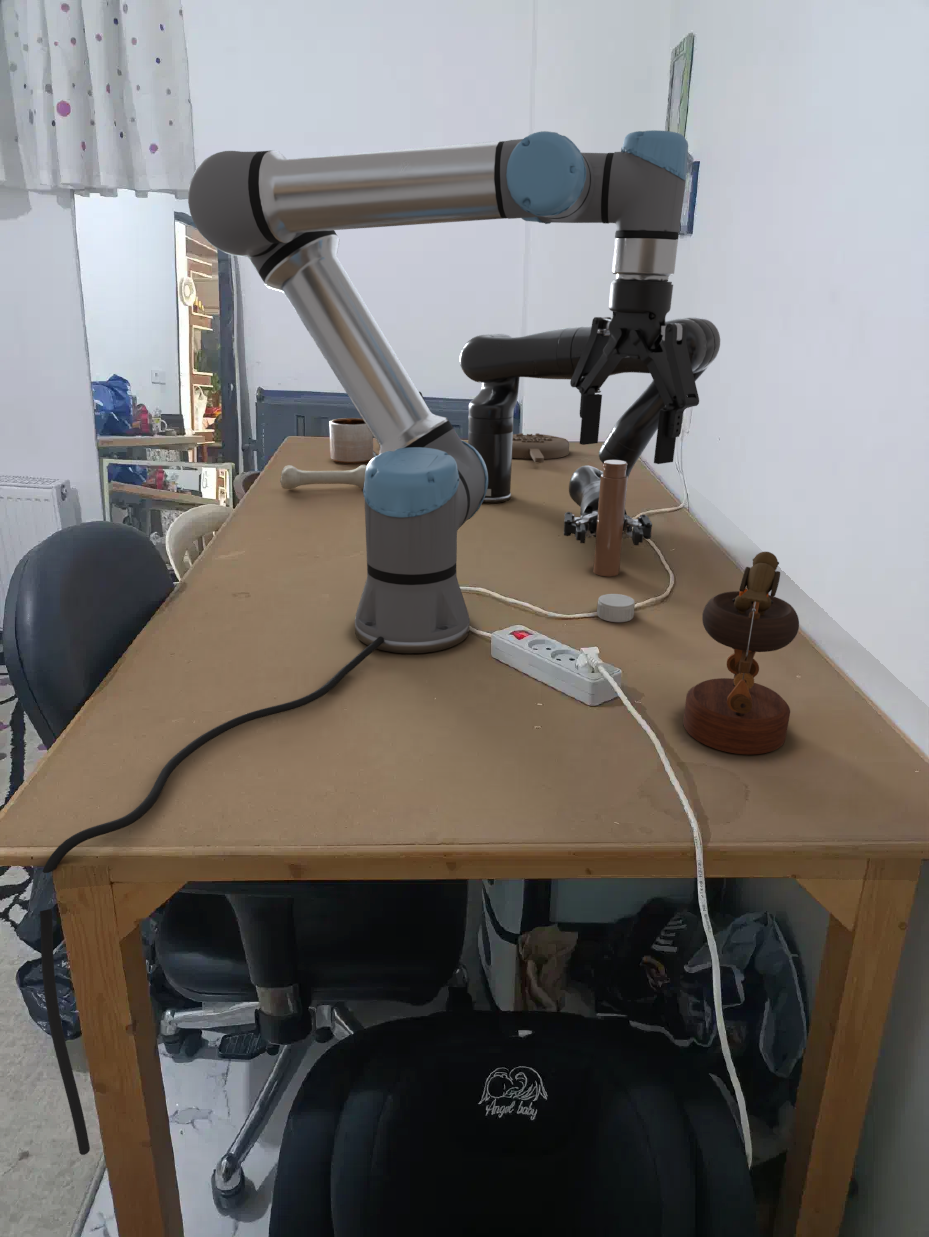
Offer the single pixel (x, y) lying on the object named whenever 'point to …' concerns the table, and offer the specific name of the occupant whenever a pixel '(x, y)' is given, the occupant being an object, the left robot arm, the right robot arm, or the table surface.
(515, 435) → the ice cream bar
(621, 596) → the lid
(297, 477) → the dog toy
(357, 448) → the planter
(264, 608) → the table surface
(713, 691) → the brown wooden figurine
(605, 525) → the jar
